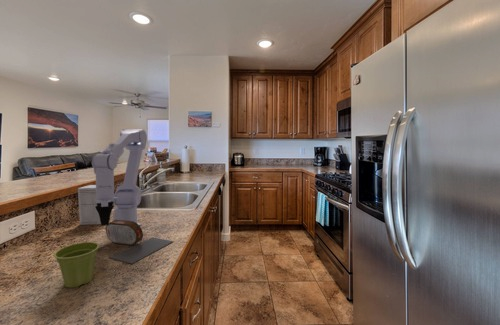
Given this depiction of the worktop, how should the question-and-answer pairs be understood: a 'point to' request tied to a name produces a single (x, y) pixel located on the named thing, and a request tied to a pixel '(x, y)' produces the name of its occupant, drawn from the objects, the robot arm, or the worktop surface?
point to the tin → (124, 232)
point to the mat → (140, 250)
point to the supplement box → (88, 205)
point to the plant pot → (77, 263)
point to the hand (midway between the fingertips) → (105, 223)
